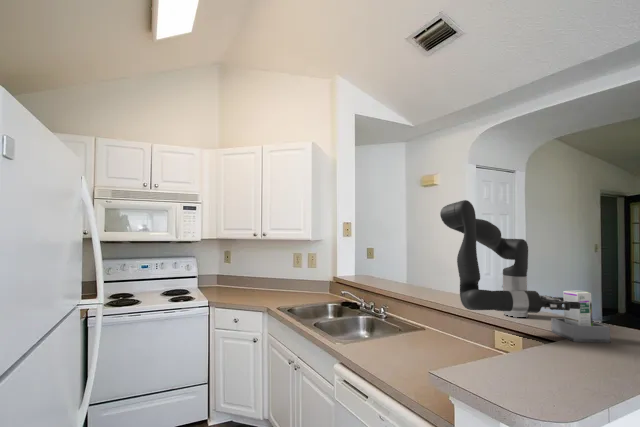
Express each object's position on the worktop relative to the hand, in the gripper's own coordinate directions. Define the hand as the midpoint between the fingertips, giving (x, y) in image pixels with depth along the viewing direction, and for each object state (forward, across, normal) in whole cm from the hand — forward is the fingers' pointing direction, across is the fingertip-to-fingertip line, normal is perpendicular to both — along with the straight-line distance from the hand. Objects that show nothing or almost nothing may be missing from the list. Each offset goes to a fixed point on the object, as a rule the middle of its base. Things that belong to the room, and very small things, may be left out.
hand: (571, 303), depth 121 cm
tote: (+2, 0, +12) cm, 12 cm away
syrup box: (+2, 0, +11) cm, 11 cm away
